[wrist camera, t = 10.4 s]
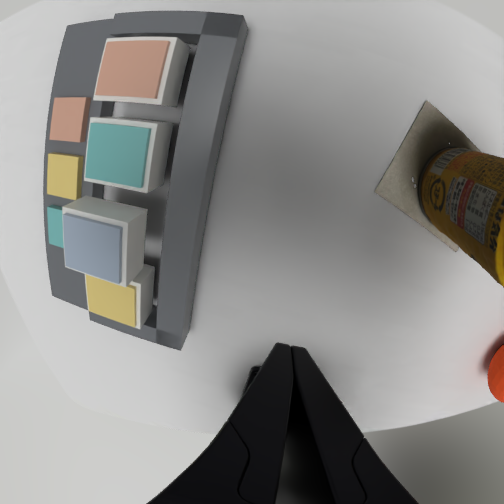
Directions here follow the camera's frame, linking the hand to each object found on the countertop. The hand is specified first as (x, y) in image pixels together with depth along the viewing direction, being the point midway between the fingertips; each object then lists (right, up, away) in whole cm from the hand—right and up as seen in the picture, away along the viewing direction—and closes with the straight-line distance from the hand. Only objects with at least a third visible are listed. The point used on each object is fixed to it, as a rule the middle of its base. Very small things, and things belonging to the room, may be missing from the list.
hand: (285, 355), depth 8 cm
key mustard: (-10, +1, +14) cm, 17 cm away
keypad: (-9, +8, +11) cm, 16 cm away
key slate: (-9, +5, +10) cm, 14 cm away
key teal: (-8, +10, +10) cm, 16 cm away
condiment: (+12, +8, +9) cm, 17 cm away
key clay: (-7, +14, +8) cm, 17 cm away
